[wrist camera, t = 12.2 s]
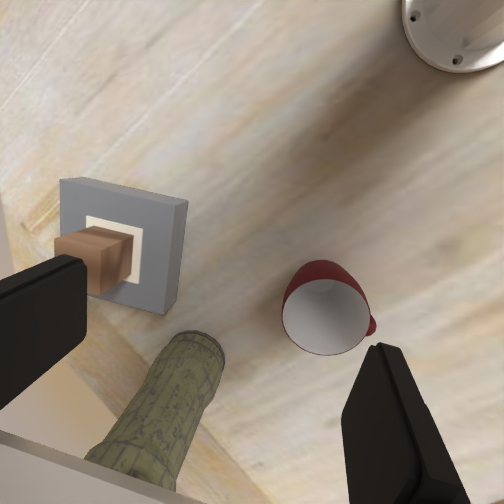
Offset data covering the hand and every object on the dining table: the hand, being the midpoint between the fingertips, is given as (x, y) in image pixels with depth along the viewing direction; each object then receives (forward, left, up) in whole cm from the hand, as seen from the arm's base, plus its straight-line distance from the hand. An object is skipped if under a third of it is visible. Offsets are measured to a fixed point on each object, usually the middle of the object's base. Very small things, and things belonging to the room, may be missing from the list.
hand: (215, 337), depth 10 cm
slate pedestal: (+9, -18, -28) cm, 34 cm away
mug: (+8, +8, -28) cm, 30 cm away
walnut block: (+9, -18, -23) cm, 31 cm away
